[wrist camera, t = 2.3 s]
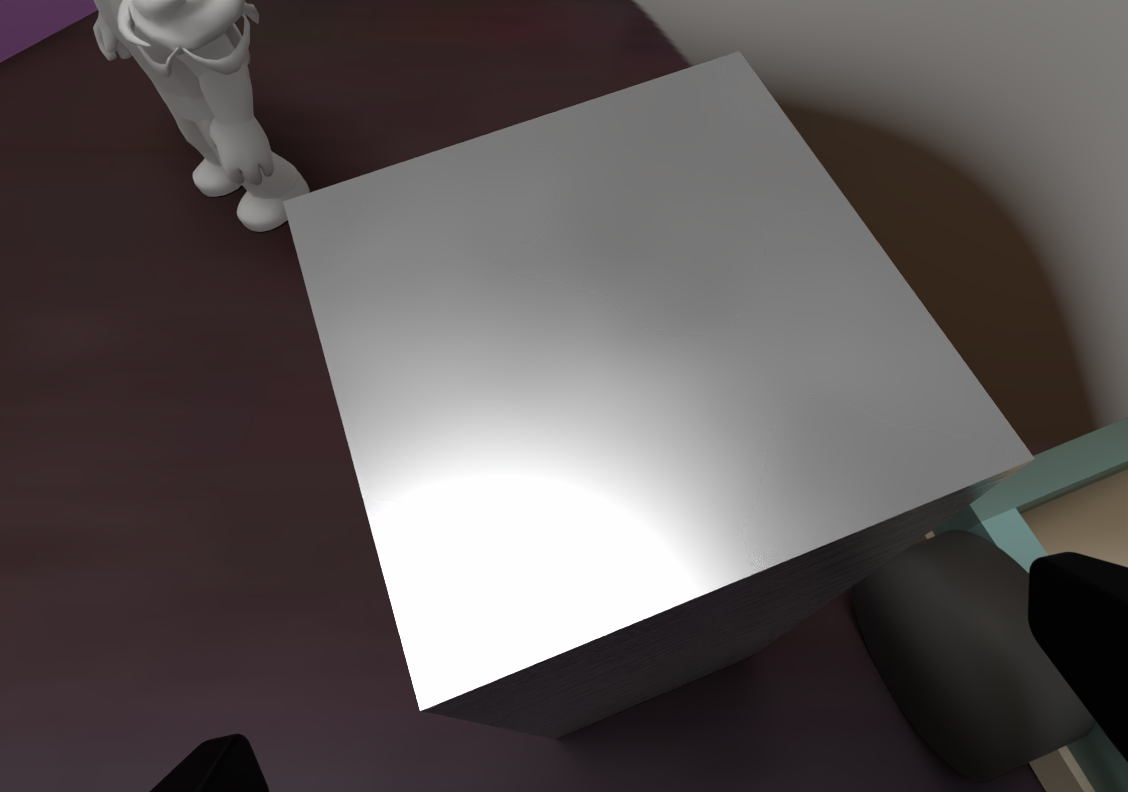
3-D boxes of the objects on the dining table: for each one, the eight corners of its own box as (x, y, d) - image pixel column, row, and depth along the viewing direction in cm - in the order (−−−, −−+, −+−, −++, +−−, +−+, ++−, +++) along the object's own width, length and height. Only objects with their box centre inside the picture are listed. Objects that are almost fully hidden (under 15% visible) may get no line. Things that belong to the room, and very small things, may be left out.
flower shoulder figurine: (384, 219, 24) (193, -222, 13) (288, 295, 23) (-7, -116, 12) (227, 90, 27) (-32, -353, 16) (136, 152, 26) (-207, -278, 15)
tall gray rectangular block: (752, 655, 17) (1034, 459, 6) (555, 738, 17) (420, 710, 5) (665, 470, 20) (738, 51, 8) (487, 539, 19) (282, 201, 7)
